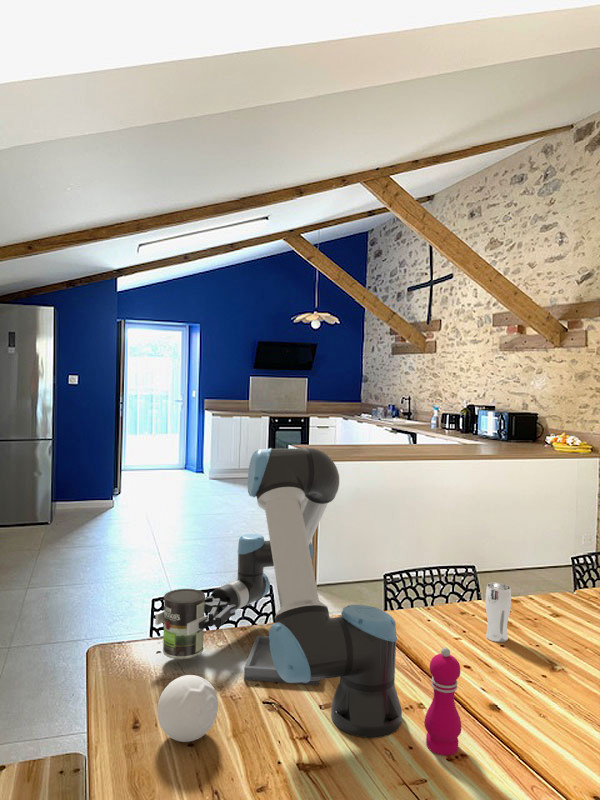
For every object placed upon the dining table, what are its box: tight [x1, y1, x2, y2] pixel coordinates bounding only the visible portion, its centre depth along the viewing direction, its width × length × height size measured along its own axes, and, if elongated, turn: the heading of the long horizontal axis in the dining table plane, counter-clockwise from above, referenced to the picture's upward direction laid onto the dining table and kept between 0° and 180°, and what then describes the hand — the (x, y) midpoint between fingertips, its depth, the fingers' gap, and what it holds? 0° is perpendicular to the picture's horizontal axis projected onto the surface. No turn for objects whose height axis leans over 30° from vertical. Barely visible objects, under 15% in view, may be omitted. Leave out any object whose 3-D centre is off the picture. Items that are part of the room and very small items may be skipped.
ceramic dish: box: [243, 635, 320, 686], centre depth 152 cm, size 18×18×3 cm
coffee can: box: [162, 588, 206, 660], centre depth 152 cm, size 10×10×14 cm
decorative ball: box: [156, 674, 219, 743], centre depth 120 cm, size 12×12×12 cm
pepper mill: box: [424, 647, 462, 756], centre depth 119 cm, size 7×7×20 cm
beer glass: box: [484, 581, 512, 643], centre depth 171 cm, size 7×7×15 cm
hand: (172, 624), depth 148 cm, fingers closed on coffee can, 10 cm apart
